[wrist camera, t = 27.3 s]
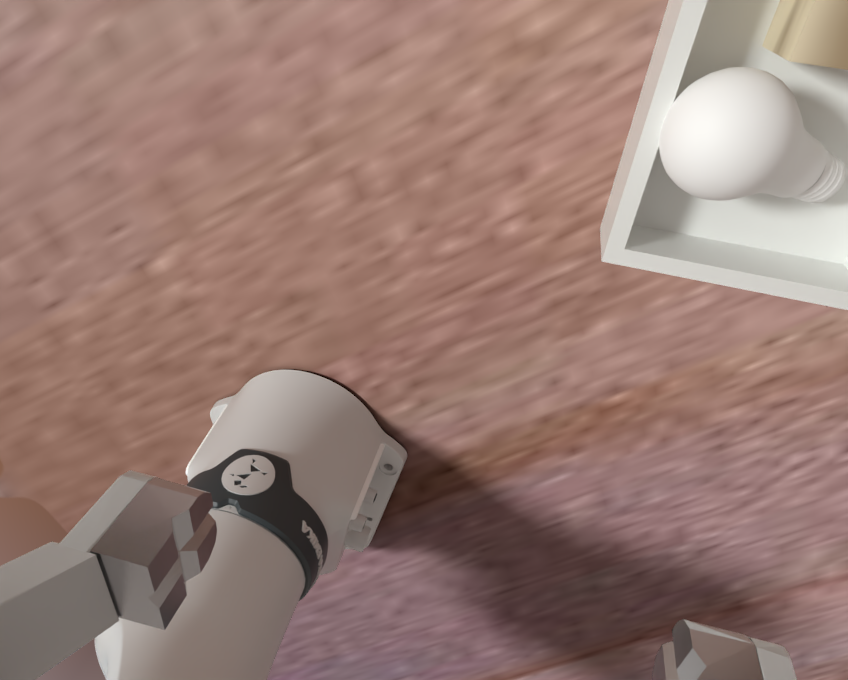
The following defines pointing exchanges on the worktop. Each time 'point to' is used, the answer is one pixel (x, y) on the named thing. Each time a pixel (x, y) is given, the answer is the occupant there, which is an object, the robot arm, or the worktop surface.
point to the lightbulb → (745, 141)
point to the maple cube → (810, 32)
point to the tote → (743, 217)
